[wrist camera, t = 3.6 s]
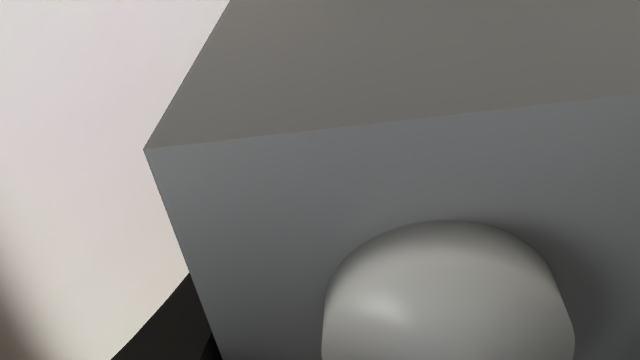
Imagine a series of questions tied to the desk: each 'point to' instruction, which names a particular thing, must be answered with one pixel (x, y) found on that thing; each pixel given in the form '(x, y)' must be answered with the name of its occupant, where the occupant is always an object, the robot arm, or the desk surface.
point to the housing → (411, 179)
